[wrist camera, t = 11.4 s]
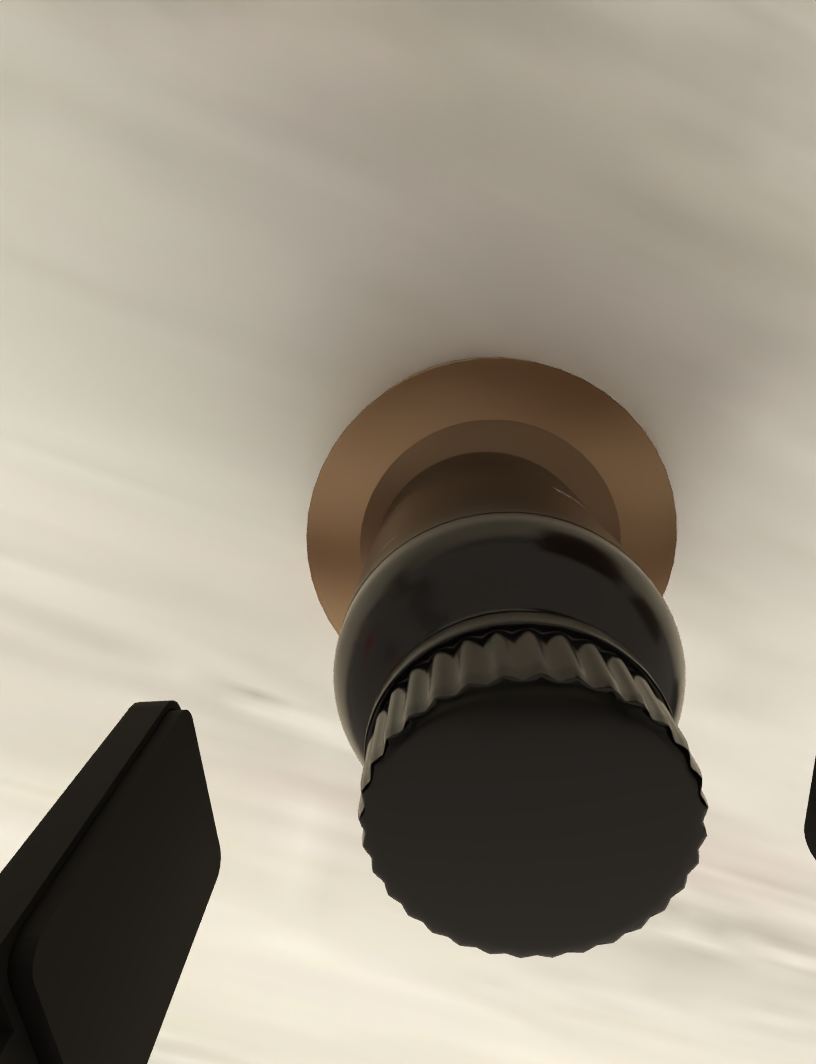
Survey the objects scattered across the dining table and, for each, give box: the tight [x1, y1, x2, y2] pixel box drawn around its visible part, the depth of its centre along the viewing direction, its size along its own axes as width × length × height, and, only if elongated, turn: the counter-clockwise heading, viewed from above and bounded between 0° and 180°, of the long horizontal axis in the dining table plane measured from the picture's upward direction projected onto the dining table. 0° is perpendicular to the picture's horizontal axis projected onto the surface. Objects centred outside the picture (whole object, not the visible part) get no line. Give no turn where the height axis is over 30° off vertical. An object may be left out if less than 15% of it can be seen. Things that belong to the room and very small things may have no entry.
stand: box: [307, 357, 677, 635], centre depth 21 cm, size 12×12×2 cm
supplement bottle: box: [334, 452, 708, 958], centre depth 14 cm, size 7×7×12 cm
